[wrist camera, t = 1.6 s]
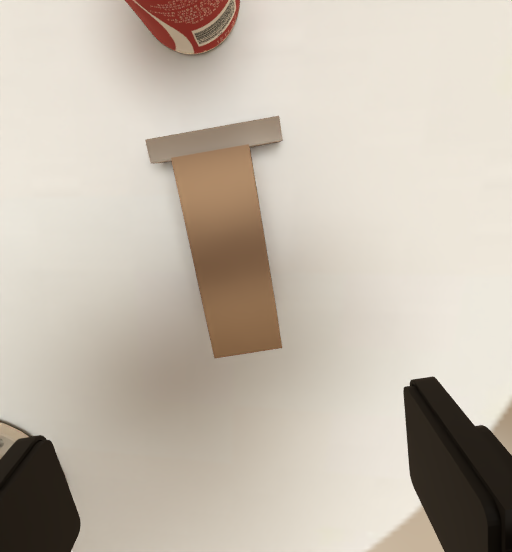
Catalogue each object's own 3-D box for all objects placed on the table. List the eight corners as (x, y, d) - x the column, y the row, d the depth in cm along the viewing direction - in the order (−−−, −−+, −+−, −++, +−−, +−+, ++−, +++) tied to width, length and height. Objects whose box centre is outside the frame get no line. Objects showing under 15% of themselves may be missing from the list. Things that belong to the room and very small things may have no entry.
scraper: (302, 302, 26) (316, 342, 21) (196, 319, 27) (181, 363, 21) (276, 120, 23) (283, 108, 18) (156, 141, 24) (125, 136, 18)
